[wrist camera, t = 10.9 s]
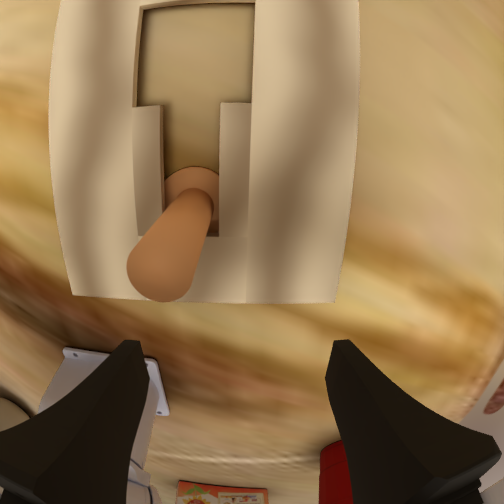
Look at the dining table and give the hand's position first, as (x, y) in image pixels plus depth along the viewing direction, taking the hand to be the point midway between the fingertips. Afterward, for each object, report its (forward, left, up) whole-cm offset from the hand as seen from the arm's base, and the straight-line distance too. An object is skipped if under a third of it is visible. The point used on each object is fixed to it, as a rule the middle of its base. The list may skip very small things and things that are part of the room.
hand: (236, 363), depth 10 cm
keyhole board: (-3, +9, -10) cm, 13 cm away
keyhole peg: (-3, +3, -10) cm, 11 cm away
